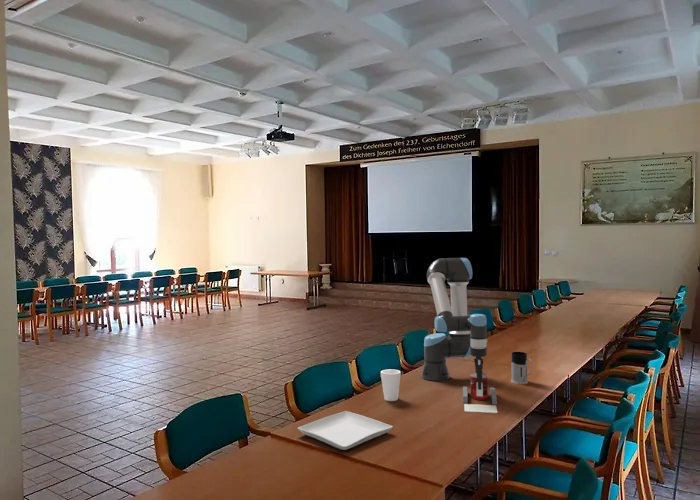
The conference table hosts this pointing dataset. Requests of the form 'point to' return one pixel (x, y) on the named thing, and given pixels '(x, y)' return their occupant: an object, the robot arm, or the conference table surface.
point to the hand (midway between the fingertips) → (479, 391)
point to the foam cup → (390, 384)
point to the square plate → (345, 429)
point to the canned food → (474, 387)
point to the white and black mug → (520, 368)
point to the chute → (480, 407)
